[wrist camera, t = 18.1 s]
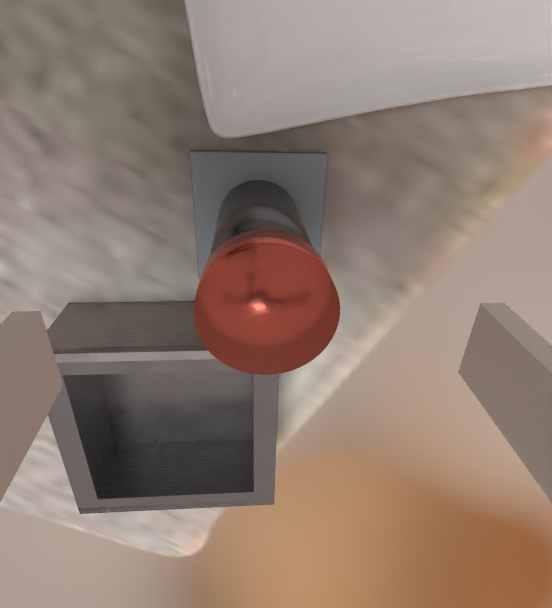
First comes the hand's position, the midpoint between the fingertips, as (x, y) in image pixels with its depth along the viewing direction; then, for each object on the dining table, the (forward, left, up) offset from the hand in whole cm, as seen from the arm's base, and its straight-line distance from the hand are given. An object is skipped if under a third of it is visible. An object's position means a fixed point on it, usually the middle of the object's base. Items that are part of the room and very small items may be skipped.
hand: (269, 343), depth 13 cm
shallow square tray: (-6, -14, -15) cm, 21 cm away
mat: (0, -1, -15) cm, 15 cm away
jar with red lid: (0, -1, -15) cm, 15 cm away
